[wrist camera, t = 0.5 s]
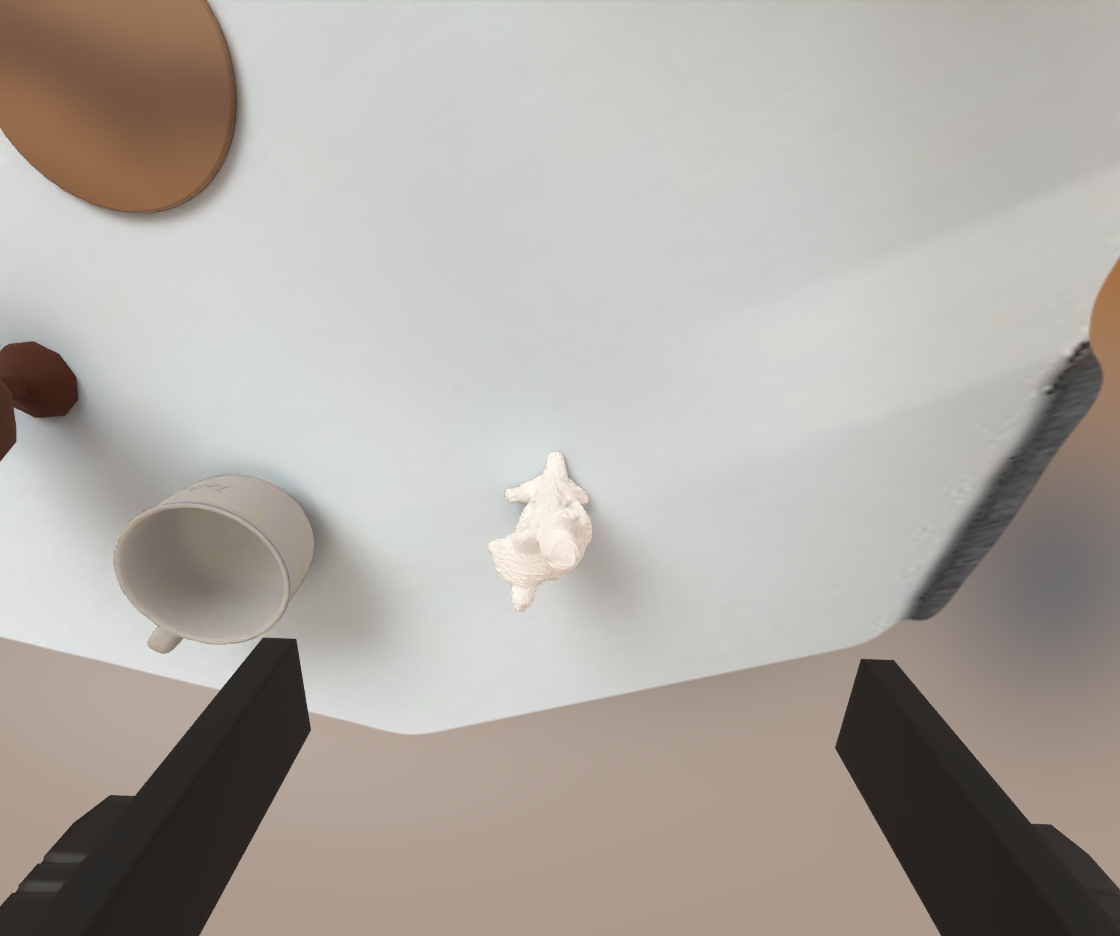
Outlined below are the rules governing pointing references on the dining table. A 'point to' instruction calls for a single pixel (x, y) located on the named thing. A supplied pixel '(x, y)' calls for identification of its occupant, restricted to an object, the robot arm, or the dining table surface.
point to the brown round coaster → (118, 97)
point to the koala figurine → (543, 532)
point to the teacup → (215, 561)
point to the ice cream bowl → (32, 387)
